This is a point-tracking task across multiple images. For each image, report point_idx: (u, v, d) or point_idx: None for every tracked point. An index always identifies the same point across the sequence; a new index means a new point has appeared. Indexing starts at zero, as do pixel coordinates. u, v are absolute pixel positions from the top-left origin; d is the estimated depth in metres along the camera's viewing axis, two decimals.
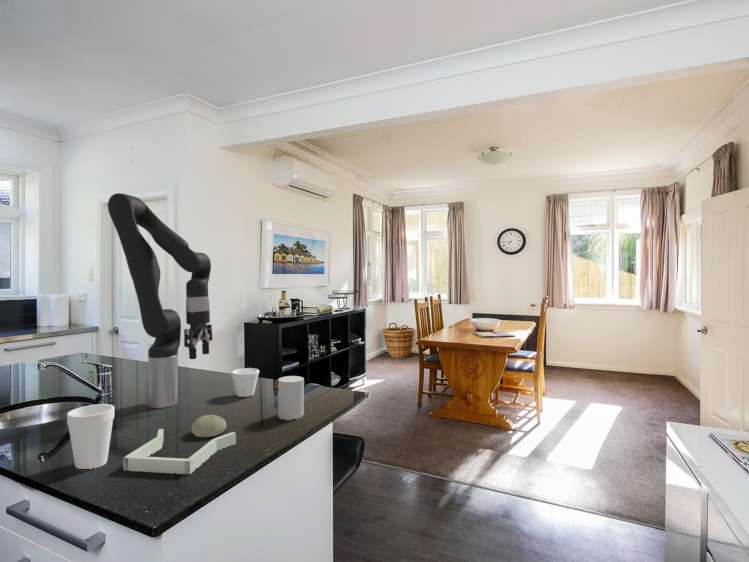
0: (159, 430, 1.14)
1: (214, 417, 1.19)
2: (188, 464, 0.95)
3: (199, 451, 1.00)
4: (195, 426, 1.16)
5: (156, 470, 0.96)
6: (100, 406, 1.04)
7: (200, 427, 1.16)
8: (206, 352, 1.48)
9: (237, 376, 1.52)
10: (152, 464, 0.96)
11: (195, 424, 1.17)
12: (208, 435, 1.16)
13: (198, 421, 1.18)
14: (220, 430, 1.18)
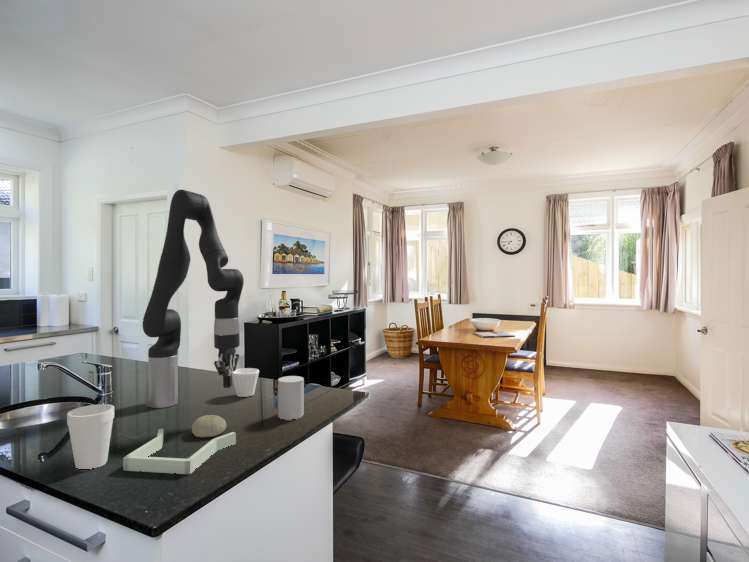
0: (159, 430, 1.14)
1: (214, 417, 1.19)
2: (188, 464, 0.95)
3: (199, 451, 1.00)
4: (195, 426, 1.16)
5: (156, 470, 0.96)
6: (100, 406, 1.04)
7: (200, 427, 1.16)
8: None
9: (237, 376, 1.52)
10: (152, 464, 0.96)
11: (195, 424, 1.17)
12: (208, 435, 1.16)
13: (198, 421, 1.18)
14: (220, 430, 1.18)
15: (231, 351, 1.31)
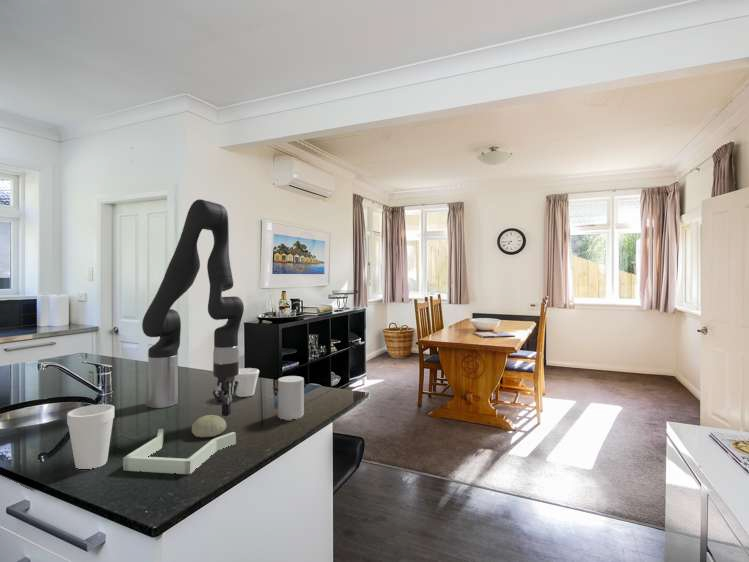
0: (159, 430, 1.14)
1: (214, 417, 1.19)
2: (188, 464, 0.95)
3: (199, 451, 1.00)
4: (195, 426, 1.16)
5: (156, 470, 0.96)
6: (100, 406, 1.04)
7: (200, 427, 1.16)
8: None
9: (237, 376, 1.52)
10: (152, 464, 0.96)
11: (195, 424, 1.17)
12: (208, 435, 1.16)
13: (198, 421, 1.18)
14: (220, 430, 1.18)
15: (230, 379, 1.31)
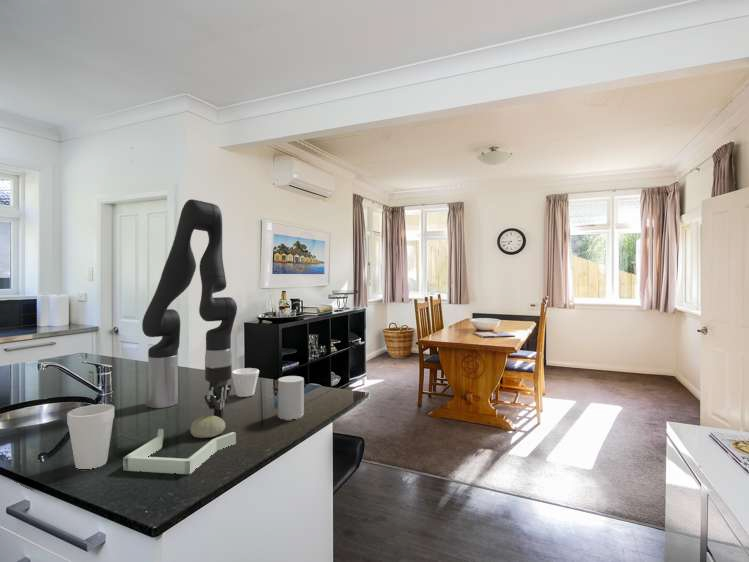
0: (159, 430, 1.14)
1: (213, 418, 1.19)
2: (188, 464, 0.95)
3: (199, 451, 1.00)
4: (194, 427, 1.16)
5: (156, 470, 0.96)
6: (100, 406, 1.04)
7: (199, 428, 1.15)
8: None
9: (237, 376, 1.52)
10: (152, 464, 0.96)
11: (194, 425, 1.16)
12: (207, 436, 1.15)
13: (197, 421, 1.17)
14: (219, 431, 1.17)
15: (223, 383, 1.26)
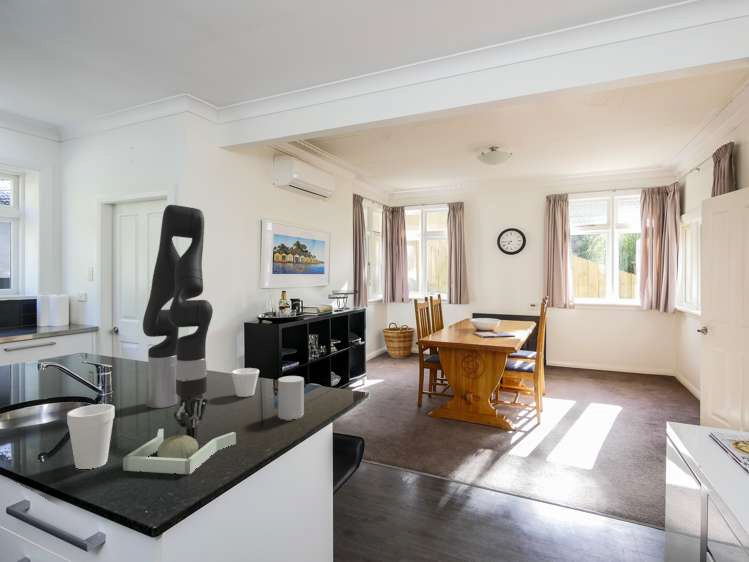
0: (159, 430, 1.14)
1: (184, 438, 1.04)
2: (188, 464, 0.95)
3: (199, 451, 1.00)
4: (162, 450, 1.01)
5: (156, 470, 0.96)
6: (100, 406, 1.04)
7: (167, 450, 1.00)
8: None
9: (237, 376, 1.52)
10: (152, 464, 0.96)
11: (161, 447, 1.01)
12: None
13: (165, 443, 1.02)
14: (191, 453, 1.02)
15: (196, 397, 1.11)
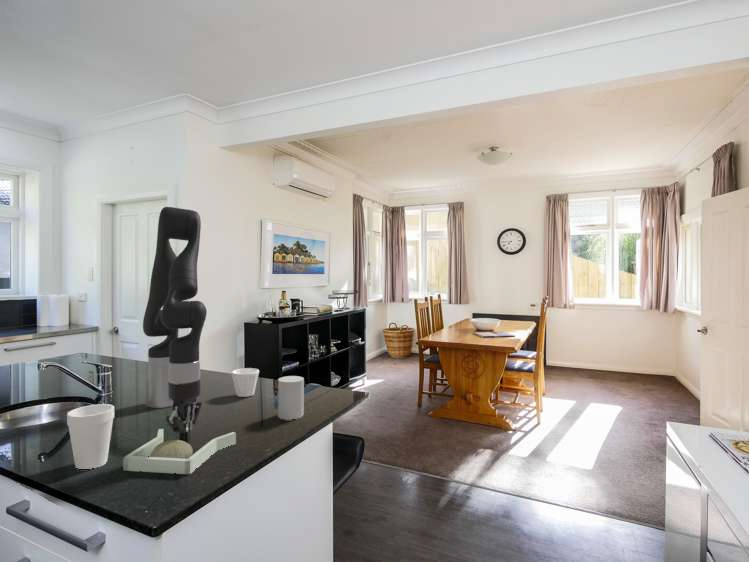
0: (159, 430, 1.14)
1: (178, 443, 1.01)
2: (188, 464, 0.95)
3: (199, 451, 1.00)
4: (155, 455, 0.98)
5: (156, 470, 0.96)
6: (100, 406, 1.04)
7: (161, 456, 0.97)
8: (186, 442, 1.07)
9: (237, 376, 1.52)
10: (152, 464, 0.96)
11: (154, 453, 0.98)
12: None
13: (158, 449, 0.99)
14: (185, 458, 1.00)
15: (190, 401, 1.08)
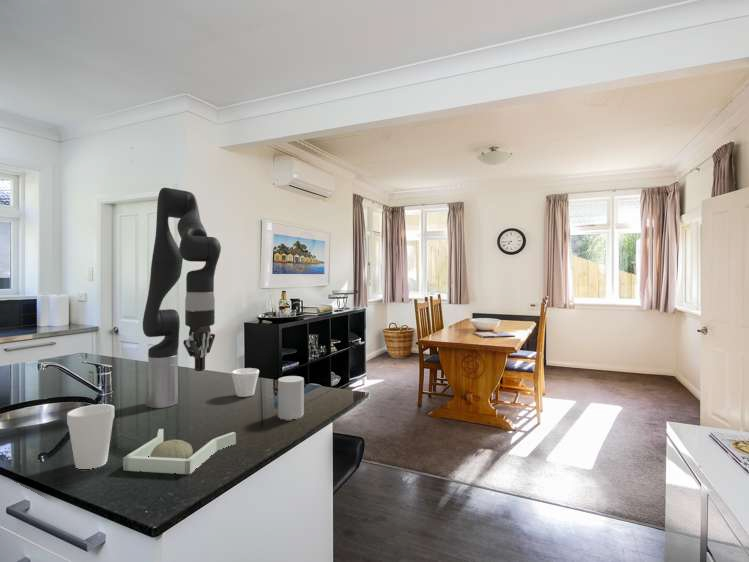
0: (159, 430, 1.14)
1: (178, 443, 1.01)
2: (188, 464, 0.95)
3: (199, 451, 1.00)
4: (156, 455, 0.98)
5: (156, 470, 0.96)
6: (100, 406, 1.04)
7: (161, 456, 0.97)
8: None
9: (237, 376, 1.52)
10: (152, 464, 0.96)
11: (155, 453, 0.98)
12: None
13: (158, 448, 0.99)
14: (186, 458, 1.00)
15: (205, 330, 1.16)
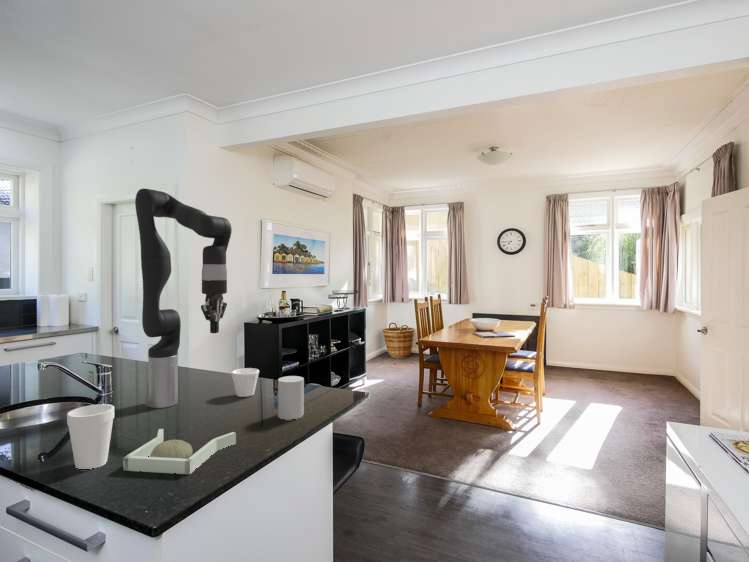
0: (159, 430, 1.14)
1: (178, 442, 1.01)
2: (188, 464, 0.95)
3: (199, 451, 1.00)
4: (156, 455, 0.98)
5: (156, 470, 0.96)
6: (100, 406, 1.04)
7: (161, 456, 0.97)
8: None
9: (237, 376, 1.52)
10: (152, 464, 0.96)
11: (155, 453, 0.98)
12: None
13: (158, 448, 0.99)
14: (186, 458, 1.00)
15: (218, 298, 1.33)
